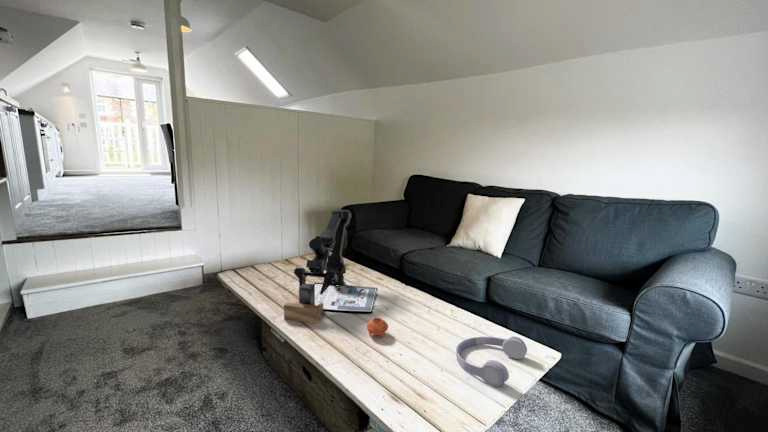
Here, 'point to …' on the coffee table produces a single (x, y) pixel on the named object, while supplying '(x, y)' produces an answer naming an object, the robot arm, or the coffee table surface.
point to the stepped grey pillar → (307, 294)
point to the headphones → (492, 369)
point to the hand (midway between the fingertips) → (310, 293)
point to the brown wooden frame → (303, 312)
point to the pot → (377, 327)
